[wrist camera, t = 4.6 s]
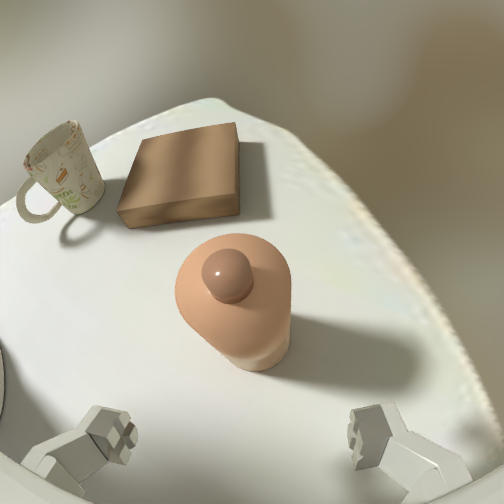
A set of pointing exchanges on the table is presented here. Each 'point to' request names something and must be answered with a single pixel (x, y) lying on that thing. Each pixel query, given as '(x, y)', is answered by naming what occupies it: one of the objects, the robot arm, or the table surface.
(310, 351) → the table surface
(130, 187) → the pedestal
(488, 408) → the table surface
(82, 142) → the mug
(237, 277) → the canister
